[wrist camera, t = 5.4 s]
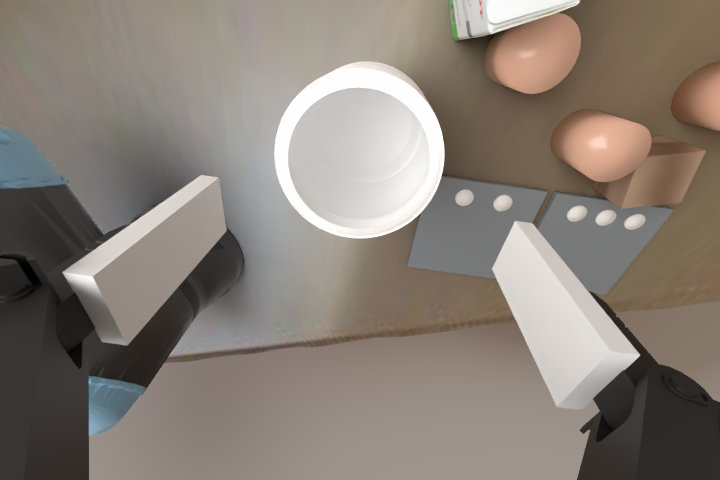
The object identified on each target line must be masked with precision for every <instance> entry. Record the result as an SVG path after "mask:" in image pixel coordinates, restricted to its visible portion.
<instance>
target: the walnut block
mask: <svg viewBox="0 0 720 480" xmlns="http://www.w3.org/2000/svg"><path fill="white" fill-rule="evenodd" d="M651 139H652V143H651V148H650V151H649V153H648V155H647V157H646V158H645V160H644V161H643V162H642V163H641V164H640V166H639V167H637V168H636V169H635V170H634V171H633V172H631V173H630V174H628V175H626V176H625V177H622V178H620V179H617V180H614V181H610V182H598V181H594V183H593V187H592V188H593V189H594V190H596V191H597V192H598V193H600V194H601V195H603V196H604V197H606V198H607V199H608V200H610V201H611V202H613V203H614V204H615V205H617V206H618V207H620V208H621V209H622V208H634V207H645V206H657V205H668V204H680V203H681V202H682V200H683V198H684V196H685V193H686V191H687V189H688V187H689V185H690V183H691V181H692V179H693V177H694V175H695V173H696V171H697V169H698V166H699V164H700V162H701V160H702V158H703V156H704V154H705V152H706V150H703V149H700V148H697V147H694V146H691V145H688V144H685V143H682V142H679V141H676V140H673V139H670V138H667V137H664V136H654V137H651Z"/></svg>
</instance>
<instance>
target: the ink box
mask: <svg viewBox="0 0 720 480" xmlns="http://www.w3.org/2000/svg"><path fill="white" fill-rule="evenodd" d="M579 2H580V0H449V8H450V17H451V26H452V35H453V39H454V41H457V40H462V39H468V38H476V37H481V36H486V35H490V34H493V33H496V32H499V31H502V30H505V29H508V28H511V27H515V26H518V25H521V24H524V23H527V22H530V21H534V20H537V19H540V18H543V17H546V16H549V15H552V14H555V13H558V12H560V11H563V10H565V9H568V8H570V7H573V6H576V5H578V4H579Z"/></svg>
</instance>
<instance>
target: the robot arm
mask: <svg viewBox="0 0 720 480" xmlns="http://www.w3.org/2000/svg"><path fill="white" fill-rule="evenodd" d="M66 183H69V181H68V180H67V178H66V177H64V176H62V175H60V174H59V173H58V172H57V170H56V169H55V168H54V167H53V166H52V164H51V163H50V162H49V161H48V159H47V158H46V157H45V156H44V155H43V153H42V152H41V151H40V150H39V148H38V147H37V146H36V145H35V144H34V142H33V141H32V140H31V139H29V138H28V137H27V136H26V135H24V134H22V133H21V132H19V131H17V130H15V129H12V128H9V127H6V126H2V125H0V480H89V436H93V435H97V434H100V433H103V432H105V431H107V430H109V429H111V428H112V427H113V426H115V425H116V424H117V423H118V422H119V421H120V420H121V419H122V418H123V416H124V415H125V414H126V412H127V411H128V410H129V409H130V407H131V406H132V405H133V404H134V402H135V401H136V400H137V399H138V397H139V396H140V395H142V394H143V393H144V392H145V390H146V388H147V387H148V385H149V384H150V382H151V381H152V380H153V378H154V377H155V375H156V374H157V372H158V371H159V369H160V368H161V366H162V365H163V363H164V362H165V361H166V359H167V358H168V356H169V355H170V353H171V352H172V350H173V349H174V347H175V346H176V345H177V343H178V342H179V340H180V339H181V337H182V336H183V334H184V333H185V331H186V330H187V328H188V327H189V326H190V324H191V323H192V321H193V320H194V319H195V317H196V316H197V314H198V313H199V312H200V311H202V310H203V309H204V308H206V307H207V306H208V305H210V304H211V303H212V302H214V301H215V300H216V299H217V298H219V297H221V296H222V295H224V294H226V293H227V292H228V291H229V290H230V289H231V288H232V287H233V286H234V284H235V282H236V281H237V279H238V278H239V276H240V274H241V272H242V269H243V257H242V252H241V249H240V247H239V245H238V243H237V241H236V240H235V238H234V237H233V235H232V234H231V233H230V232H229V231H228V229H227V228H226V222H225V216H224V209H223V202H222V196H221V189H220V183H219V178H218V177H211V176H204V175H201V176H199V177H198V178H196V179H195V180H194V181H192V182H191V183H189V184H188V185H186V186H185V187H184V188H182V189H181V190H179V191H178V192H176V193H175V194H173V195H172V196H171V197H169V198H168V199H166V200H165V201H163V202H162V203H161V204H157V205H154V206H151V207H149V208H147V209H146V210H144V211H143V212H142V213H140V214H139V215H137V216H136V217H135V218H133V219H132V220H131V222H130V223H129V224H128V225H125V226H123V227H120V228H117V229H115V230H112V231H110V232H108V233H107V234H105V235H103V233H102V232H101V230H100V229H99V228H98V226H97V225H96V224H95V222H94V221H93V220H92V218H91V217H90V216H89V214H88V213H87V212H86V210H85V209H84V208H83V206H82V205H81V204H80V202H79V201H78V199H77V198H76V197H75V195H74V194H73V193H72V191H71V190H70V189H69V187H68V186H67V185H66ZM492 270H493V272H494V275H495V277H496V279H497V281H498V283H499V285H500V287H501V289H502V292H503V294H504V296H505V298H506V300H507V302H508V304H509V306H510V309H511V311H512V313H513V315H514V317H515V319H516V321H517V323H518V326H519V328H520V330H521V332H522V334H523V336H524V338H525V340H526V342H527V345H528V347H529V348H530V351H531V353H532V355H533V357H534V360H535V362H536V364H537V366H538V368H539V370H540V372H541V374H542V376H543V378H544V381H545V383H546V385H547V387H548V389H549V391H550V393H551V395H552V397H553V400H554V402H555V404H556V406H557V407H561V408H568V409H575V410H582V409H584V408H585V407H586V406H587V405H588V404H589V403H590V402H591V401H592V400H594V401H595V403H596V405H597V406H598V408H599V410H600V412H599V413H598V414H596V415H595V416H594V417H593V418H592V419H591V420H590V421H589V422H587V423H586V424H585V425H584V426H583V427H582V428H581V430H580V431H581V432H582V433H583V434H584V433H585V432H586V431H587V430H590V434H589V437H588V441H587V445H586V448H585V452H584V456H583V459H582V463H581V467H580V471H579V474H578V478H577V480H720V402H718V401H715V400H713V399H712V398H711V397H710V395H709V394H708V393H707V392H706V391H705V389H703V388H702V387H701V386H700V385H699V384H698V383H696V382H695V381H694V380H693V379H691V378H690V377H688V376H686V375H685V374H683V373H682V372H680V371H677V370H675V369H673V368H671V367H668V366H664V365H659V364H658V363H657V362H656V361H655V360H654V359H653V357H652V356H651V355H650V354H649V353H648V352H647V350H646V349H645V348H644V347H643V346H642V344H641V343H640V342H639V341H638V340H637V339H636V337H635V336H634V335H633V334H632V333H631V332H630V331H629V329H628V328H626V327H625V325H624V323H623V322H622V321H621V320H620V319H619V318H618V317H616V314H615V313H614V312H613V310H612V309H611V308H610V307H609V306H608V305H607V303H606V302H604V301H603V300H602V299H600V298H599V297H598V296H597V295H595V294H594V293H593V292H591V291H587V289H586V288H585V287H584V286H583V284H582V283H581V282H580V281H579V280H578V278H577V277H576V276H575V275H574V274H573V272H572V271H571V270H570V269H569V267H568V266H567V265H566V264H565V263H564V261H563V260H562V259H561V258H560V256H559V255H558V254H557V253H556V252H555V250H554V249H553V248H552V247H551V245H550V244H549V243H548V242H547V241H546V239H545V238H544V237H543V236H542V234H541V233H540V232H539V231H538V230H537V228H536V227H535V226H534V225H533V223H527V222H520V221H515V222H514V224H513V226H512V228H511V230H510V233H509V235H508V237H507V239H506V241H505V243H504V245H503V247H502V249H501V251H500V253H499V255H498V257H497V260H496V262H495V264H494V266H493V268H492Z"/></svg>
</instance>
